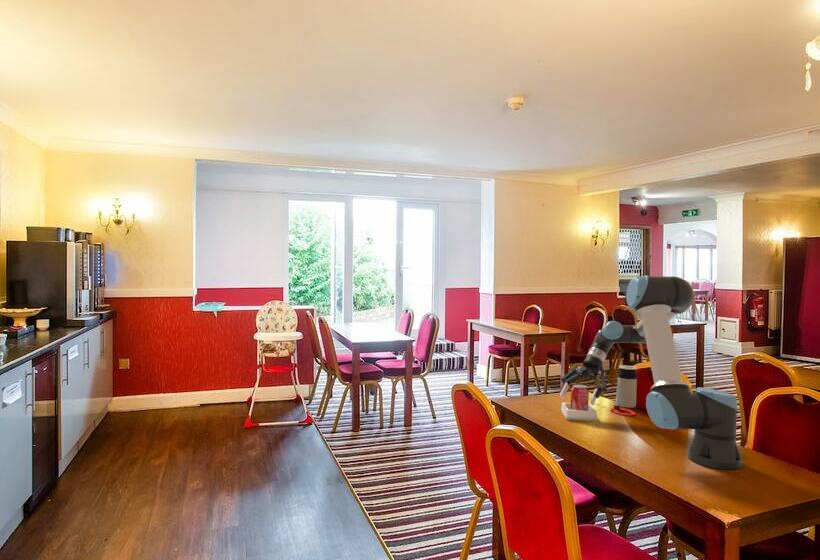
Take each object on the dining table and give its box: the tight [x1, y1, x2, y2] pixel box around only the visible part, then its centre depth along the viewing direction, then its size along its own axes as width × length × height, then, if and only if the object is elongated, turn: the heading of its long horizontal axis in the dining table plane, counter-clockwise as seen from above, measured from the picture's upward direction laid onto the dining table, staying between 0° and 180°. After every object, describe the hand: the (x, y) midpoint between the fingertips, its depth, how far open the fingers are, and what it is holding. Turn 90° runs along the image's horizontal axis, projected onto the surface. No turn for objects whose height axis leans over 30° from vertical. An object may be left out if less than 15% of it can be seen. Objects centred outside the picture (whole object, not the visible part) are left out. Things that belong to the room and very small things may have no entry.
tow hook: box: [609, 381, 636, 417], centre depth 219 cm, size 8×13×9 cm
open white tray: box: [561, 402, 598, 422], centre depth 213 cm, size 12×12×4 cm
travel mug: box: [617, 365, 638, 409], centre depth 231 cm, size 8×8×18 cm
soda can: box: [570, 383, 590, 411], centre depth 212 cm, size 7×7×12 cm
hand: (576, 399), depth 211 cm, fingers open, 13 cm apart
